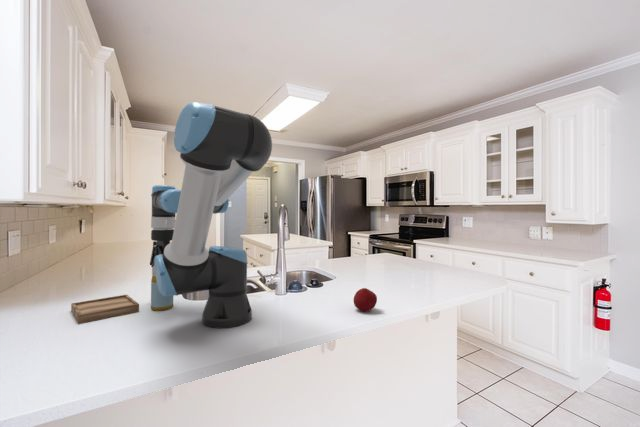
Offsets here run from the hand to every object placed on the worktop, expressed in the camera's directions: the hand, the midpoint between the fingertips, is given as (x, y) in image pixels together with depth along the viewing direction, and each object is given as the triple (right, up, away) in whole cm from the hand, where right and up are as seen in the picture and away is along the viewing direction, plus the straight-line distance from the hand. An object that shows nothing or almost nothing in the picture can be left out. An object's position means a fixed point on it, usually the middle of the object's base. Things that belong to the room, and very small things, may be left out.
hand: (162, 288), depth 104 cm
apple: (+72, -8, 0) cm, 72 cm away
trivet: (-17, -7, -5) cm, 19 cm away
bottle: (0, -7, 0) cm, 7 cm away
